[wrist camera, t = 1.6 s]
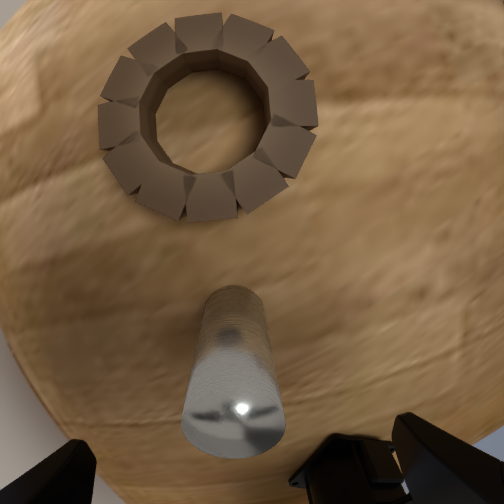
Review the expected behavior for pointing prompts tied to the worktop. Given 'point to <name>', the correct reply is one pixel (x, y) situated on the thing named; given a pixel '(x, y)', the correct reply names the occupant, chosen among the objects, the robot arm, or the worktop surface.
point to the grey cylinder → (233, 380)
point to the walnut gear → (173, 70)
